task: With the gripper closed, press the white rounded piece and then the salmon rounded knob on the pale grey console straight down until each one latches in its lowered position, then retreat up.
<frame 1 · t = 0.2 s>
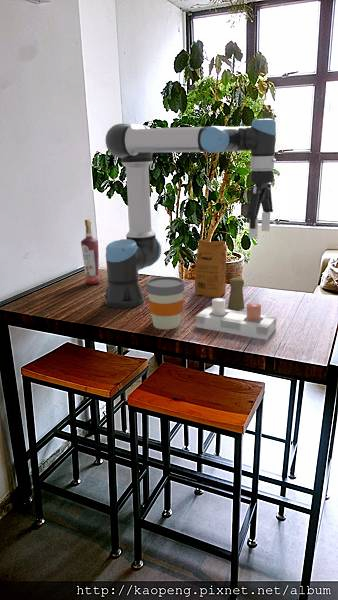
hand: (259, 234, 154), 28 cm above the table, tool pointing down, fingers open, 13 cm apart
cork: (236, 307, 167), on the table
liquor: (93, 283, 201), on the table
salmon rounded knob: (253, 312, 143), point 6 cm above the table, slide at 0.0 cm
console: (235, 327, 148), on the table
coffee package: (209, 294, 183), on the table
white rounded piece: (218, 306, 149), point 6 cm above the table, slide at 0.0 cm
reusable coffee cup: (166, 324, 153), on the table
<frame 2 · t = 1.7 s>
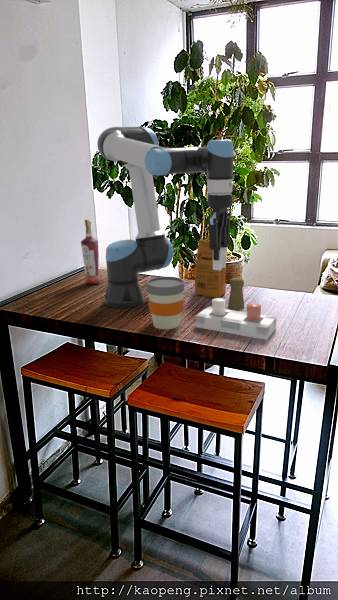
hand: (219, 268, 145), 20 cm above the table, tool pointing down, fingers open, 3 cm apart
nothing on the table moved.
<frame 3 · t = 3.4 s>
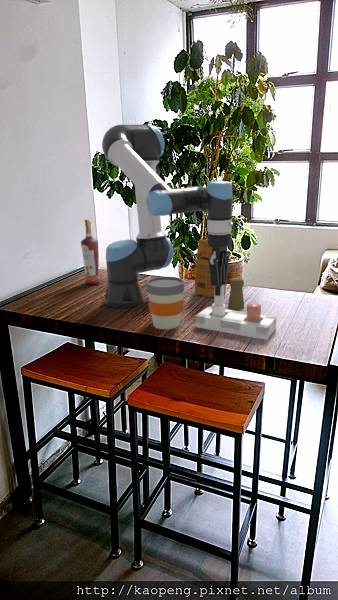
hand: (219, 303, 149), 7 cm above the table, tool pointing down, fingers closed
white rounded piece: (218, 310, 150), point 5 cm above the table, slide at 1.5 cm, touching gripper
everything else where it was.
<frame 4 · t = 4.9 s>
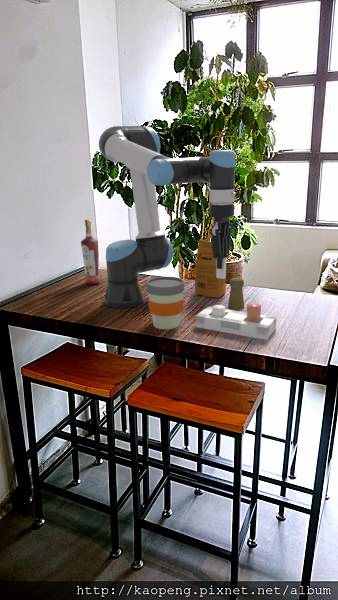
hand: (221, 277, 145), 17 cm above the table, tool pointing down, fingers closed
white rounded piece: (218, 313, 150), point 4 cm above the table, slide at 2.4 cm
everything else where it was.
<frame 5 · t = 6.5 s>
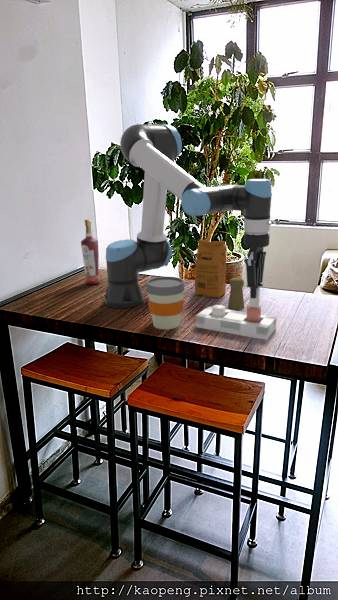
hand: (254, 306, 143), 8 cm above the table, tool pointing down, fingers closed
salmon rounded knob: (253, 313, 144), point 6 cm above the table, slide at 0.6 cm, touching gripper
everything else where it was.
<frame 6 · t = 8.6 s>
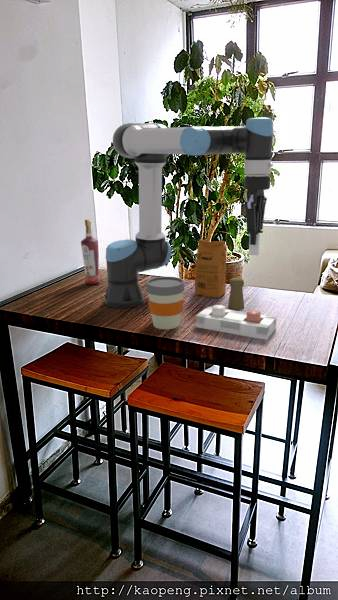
hand: (253, 254, 139), 25 cm above the table, tool pointing down, fingers closed
salmon rounded knob: (253, 319, 144), point 4 cm above the table, slide at 2.4 cm
everything else where it was.
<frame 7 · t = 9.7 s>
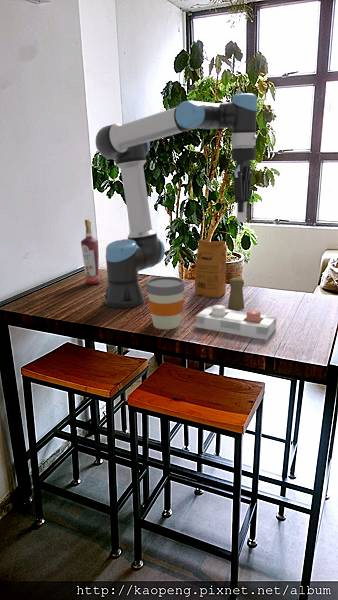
hand: (241, 221, 151), 32 cm above the table, tool pointing down, fingers closed
nothing on the table moved.
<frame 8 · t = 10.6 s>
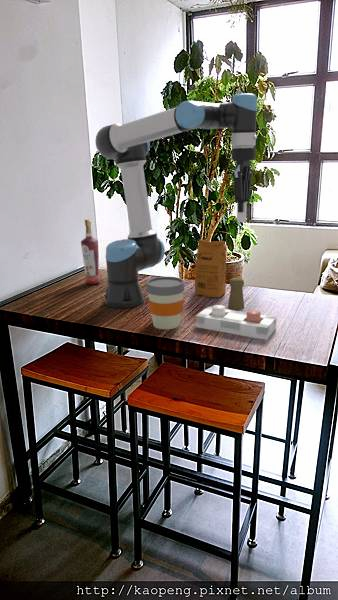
hand: (241, 221, 151), 32 cm above the table, tool pointing down, fingers closed
nothing on the table moved.
at the end: white rounded piece slide at 2.4 cm; salmon rounded knob slide at 2.4 cm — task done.
